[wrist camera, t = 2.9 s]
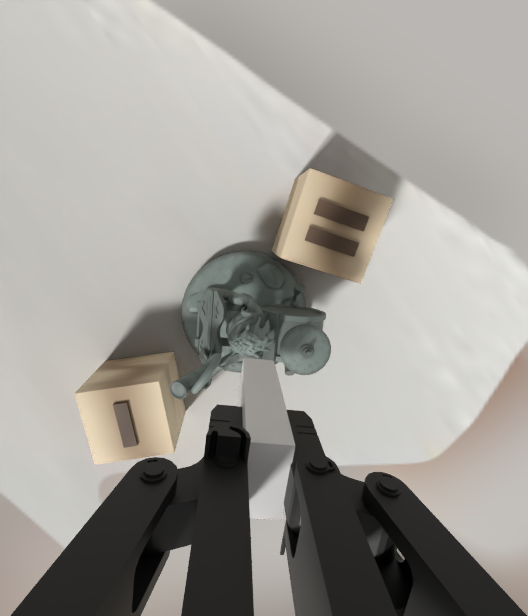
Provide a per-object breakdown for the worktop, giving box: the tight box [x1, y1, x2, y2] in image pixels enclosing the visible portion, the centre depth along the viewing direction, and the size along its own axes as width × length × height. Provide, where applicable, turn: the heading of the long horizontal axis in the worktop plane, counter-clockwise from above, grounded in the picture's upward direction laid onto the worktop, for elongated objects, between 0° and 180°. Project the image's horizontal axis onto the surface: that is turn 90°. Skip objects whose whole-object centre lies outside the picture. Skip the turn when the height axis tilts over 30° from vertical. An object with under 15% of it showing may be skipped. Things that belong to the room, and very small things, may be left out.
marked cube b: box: [272, 168, 393, 284], centre depth 26 cm, size 6×6×6 cm
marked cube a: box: [75, 351, 186, 465], centre depth 28 cm, size 6×6×6 cm
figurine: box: [169, 251, 331, 399], centre depth 24 cm, size 11×11×12 cm
